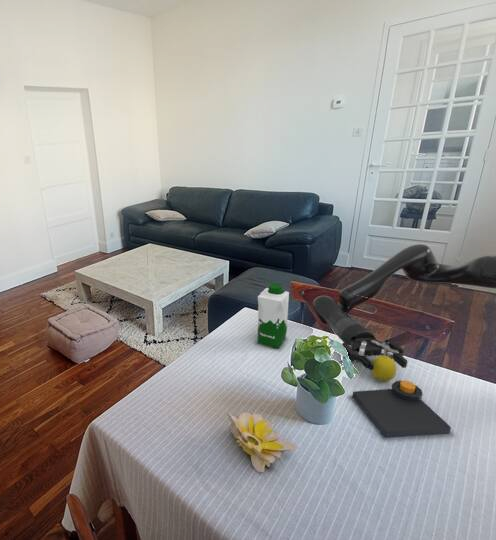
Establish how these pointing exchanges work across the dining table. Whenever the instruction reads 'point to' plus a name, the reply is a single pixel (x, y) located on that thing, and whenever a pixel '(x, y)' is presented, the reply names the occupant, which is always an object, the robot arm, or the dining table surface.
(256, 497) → the dining table surface
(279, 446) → the decorative flower
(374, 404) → the scale
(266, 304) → the milk carton
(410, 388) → the tare button
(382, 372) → the lemon
